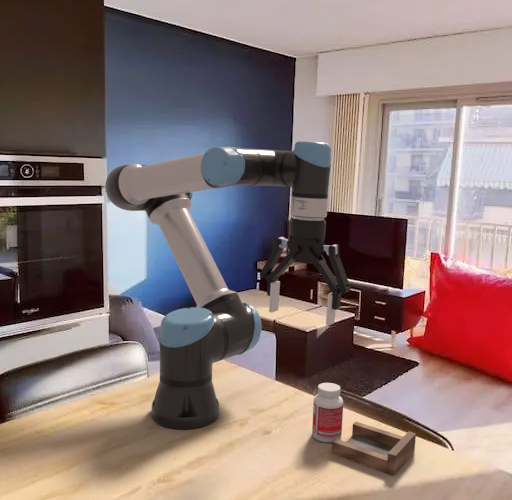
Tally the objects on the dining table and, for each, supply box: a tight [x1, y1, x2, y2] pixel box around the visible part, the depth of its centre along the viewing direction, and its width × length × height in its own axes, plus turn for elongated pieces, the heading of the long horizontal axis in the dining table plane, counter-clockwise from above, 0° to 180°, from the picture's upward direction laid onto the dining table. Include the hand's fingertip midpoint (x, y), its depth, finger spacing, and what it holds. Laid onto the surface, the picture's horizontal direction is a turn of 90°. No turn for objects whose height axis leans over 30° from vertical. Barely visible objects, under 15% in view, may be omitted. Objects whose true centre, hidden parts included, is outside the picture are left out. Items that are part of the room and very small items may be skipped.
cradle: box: [331, 421, 417, 477], centre depth 109 cm, size 13×11×4 cm
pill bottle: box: [311, 382, 344, 444], centre depth 114 cm, size 6×6×11 cm
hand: (301, 317), depth 116 cm, fingers open, 13 cm apart
